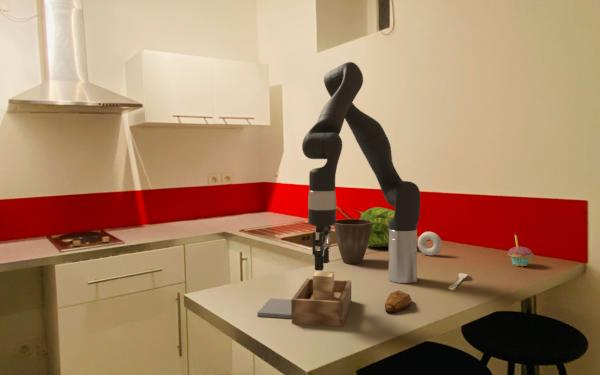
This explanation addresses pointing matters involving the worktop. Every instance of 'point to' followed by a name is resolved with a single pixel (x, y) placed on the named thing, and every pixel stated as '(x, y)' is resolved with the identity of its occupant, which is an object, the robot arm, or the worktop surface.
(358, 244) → the plant pot
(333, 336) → the worktop surface
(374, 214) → the lettuce
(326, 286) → the maple block
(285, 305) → the plate
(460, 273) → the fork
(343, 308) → the walnut crate
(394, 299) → the croissant
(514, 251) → the cupcake
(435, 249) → the donut
